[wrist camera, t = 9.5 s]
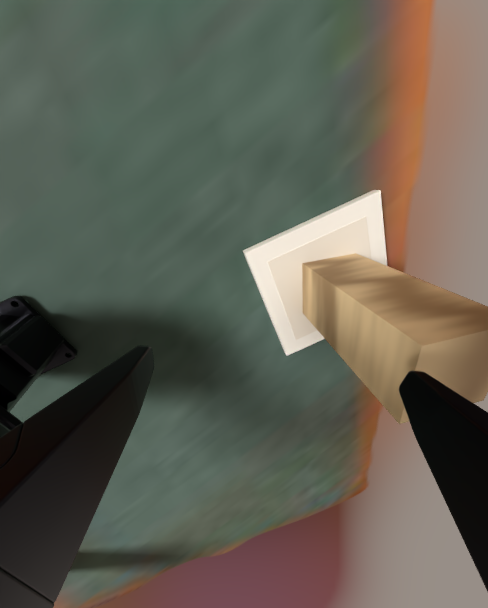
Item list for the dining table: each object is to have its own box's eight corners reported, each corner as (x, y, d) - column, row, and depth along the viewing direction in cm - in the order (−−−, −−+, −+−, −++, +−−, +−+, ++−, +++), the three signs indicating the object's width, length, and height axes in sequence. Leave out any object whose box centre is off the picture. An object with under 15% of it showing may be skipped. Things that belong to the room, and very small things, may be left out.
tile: (284, 351, 25) (286, 356, 25) (242, 250, 20) (244, 253, 19) (385, 304, 25) (391, 308, 24) (373, 190, 19) (381, 190, 19)
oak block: (302, 313, 22) (399, 424, 12) (302, 263, 20) (422, 346, 10) (350, 302, 23) (483, 400, 12) (355, 253, 21) (523, 321, 10)
